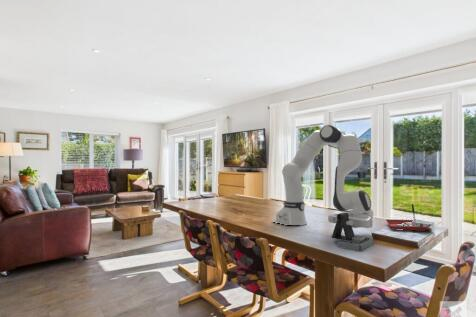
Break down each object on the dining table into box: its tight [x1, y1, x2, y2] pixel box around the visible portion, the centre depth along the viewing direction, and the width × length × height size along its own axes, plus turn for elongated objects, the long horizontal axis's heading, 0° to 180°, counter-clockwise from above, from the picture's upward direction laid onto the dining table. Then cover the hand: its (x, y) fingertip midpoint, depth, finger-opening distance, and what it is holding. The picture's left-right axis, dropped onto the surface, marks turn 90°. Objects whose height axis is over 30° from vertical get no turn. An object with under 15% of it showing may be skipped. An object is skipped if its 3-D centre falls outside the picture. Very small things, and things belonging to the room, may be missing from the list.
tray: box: [337, 235, 375, 252], centre depth 125 cm, size 10×15×2 cm
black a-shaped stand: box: [331, 211, 356, 242], centre depth 129 cm, size 9×6×12 cm, turn 42°
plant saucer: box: [385, 218, 429, 232], centre depth 155 cm, size 18×18×3 cm
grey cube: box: [351, 235, 366, 245], centre depth 124 cm, size 4×4×4 cm
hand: (342, 223), depth 129 cm, fingers closed on black a-shaped stand
